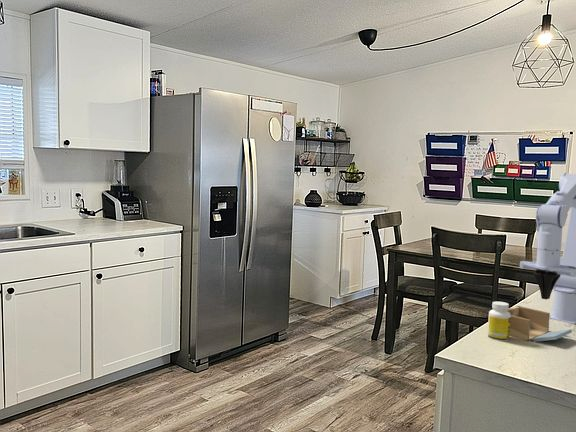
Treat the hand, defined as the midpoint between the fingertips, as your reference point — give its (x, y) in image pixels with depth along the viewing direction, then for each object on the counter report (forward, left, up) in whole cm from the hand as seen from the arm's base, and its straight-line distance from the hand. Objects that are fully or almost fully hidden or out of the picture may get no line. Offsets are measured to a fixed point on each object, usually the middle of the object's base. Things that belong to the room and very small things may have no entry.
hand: (545, 298), depth 143 cm
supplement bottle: (+15, -5, -10) cm, 18 cm away
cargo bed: (+5, -3, -10) cm, 12 cm away
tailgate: (+5, +2, -9) cm, 11 cm away
